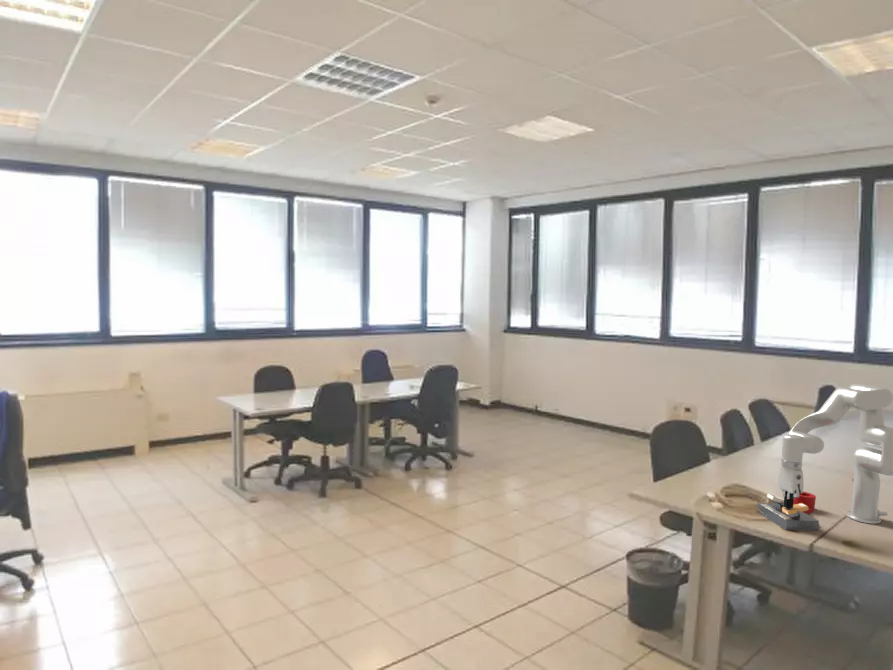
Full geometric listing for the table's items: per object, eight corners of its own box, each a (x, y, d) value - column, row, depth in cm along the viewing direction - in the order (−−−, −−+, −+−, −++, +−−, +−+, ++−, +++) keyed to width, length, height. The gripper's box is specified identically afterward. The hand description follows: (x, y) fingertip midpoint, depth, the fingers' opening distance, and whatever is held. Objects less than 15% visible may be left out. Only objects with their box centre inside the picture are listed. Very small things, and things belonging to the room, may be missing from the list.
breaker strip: (786, 512, 269) (787, 500, 268) (817, 530, 249) (819, 516, 249) (756, 512, 268) (757, 499, 267) (786, 529, 248) (787, 516, 247)
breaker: (783, 503, 267) (785, 499, 267) (790, 507, 262) (792, 503, 262) (765, 496, 266) (767, 492, 266) (772, 500, 261) (774, 496, 261)
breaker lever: (801, 506, 256) (800, 502, 255) (809, 511, 251) (808, 506, 251) (781, 511, 255) (781, 507, 255) (789, 515, 250) (788, 511, 250)
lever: (791, 503, 281) (793, 489, 281) (815, 508, 276) (816, 494, 275) (786, 512, 267) (787, 498, 266) (810, 518, 261) (812, 503, 261)
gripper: (812, 469, 244) (808, 514, 245) (788, 459, 259) (785, 501, 260) (794, 469, 243) (791, 514, 245) (771, 459, 258) (768, 501, 260)
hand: (788, 507), depth 253 cm, fingers closed
